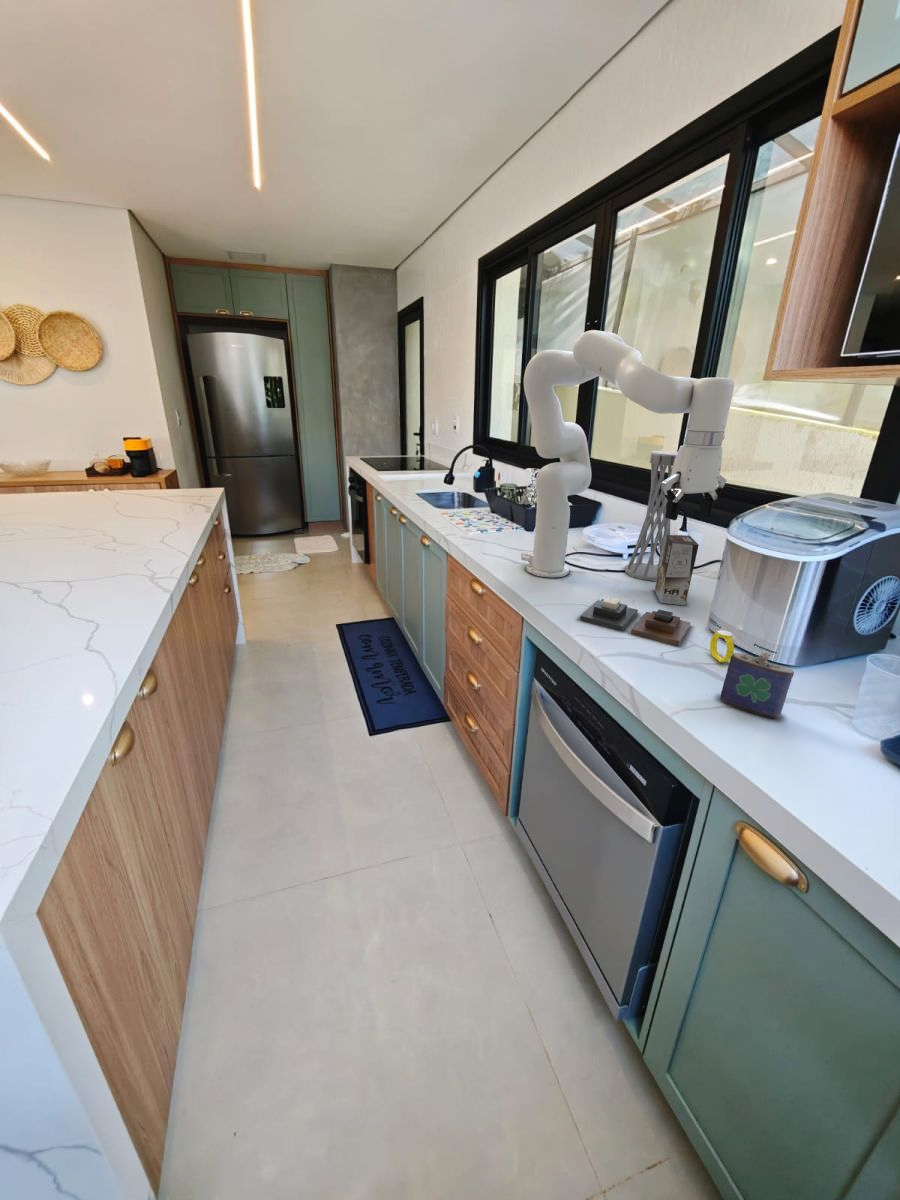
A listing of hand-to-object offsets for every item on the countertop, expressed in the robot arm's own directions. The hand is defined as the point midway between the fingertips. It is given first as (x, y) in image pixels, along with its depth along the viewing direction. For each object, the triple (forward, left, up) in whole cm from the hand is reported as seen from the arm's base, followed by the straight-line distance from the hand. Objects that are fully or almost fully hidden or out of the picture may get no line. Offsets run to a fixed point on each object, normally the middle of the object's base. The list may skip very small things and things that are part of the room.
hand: (687, 517), depth 116 cm
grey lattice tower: (-12, +27, -24) cm, 38 cm away
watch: (+14, -19, -24) cm, 34 cm away
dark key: (+1, -12, -21) cm, 24 cm away
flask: (+21, -35, -24) cm, 48 cm away
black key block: (-11, -12, -24) cm, 29 cm away
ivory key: (-11, -12, -21) cm, 27 cm away
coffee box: (-2, +10, -24) cm, 26 cm away
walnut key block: (+1, -12, -24) cm, 27 cm away
